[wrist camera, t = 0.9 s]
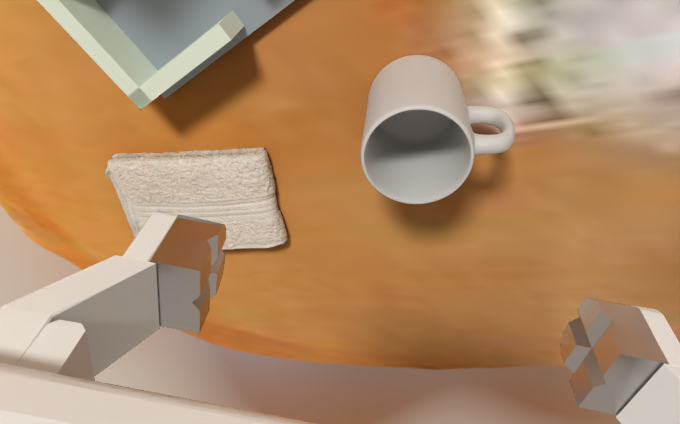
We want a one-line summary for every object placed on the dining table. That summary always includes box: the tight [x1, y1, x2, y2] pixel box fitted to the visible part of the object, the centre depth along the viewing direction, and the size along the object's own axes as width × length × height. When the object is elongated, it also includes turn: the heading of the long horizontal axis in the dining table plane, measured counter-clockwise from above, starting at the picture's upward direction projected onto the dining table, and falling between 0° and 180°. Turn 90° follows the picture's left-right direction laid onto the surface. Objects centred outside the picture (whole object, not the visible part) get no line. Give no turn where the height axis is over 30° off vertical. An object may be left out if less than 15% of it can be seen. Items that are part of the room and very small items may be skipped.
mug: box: [361, 55, 515, 204], centre depth 41 cm, size 12×8×11 cm
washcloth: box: [105, 147, 287, 250], centre depth 54 cm, size 12×18×3 cm, turn 97°
